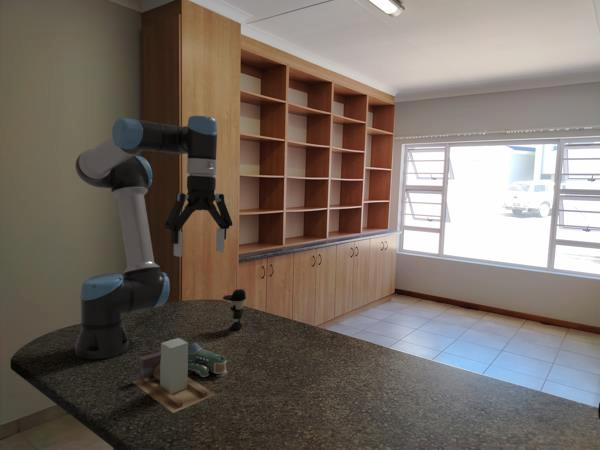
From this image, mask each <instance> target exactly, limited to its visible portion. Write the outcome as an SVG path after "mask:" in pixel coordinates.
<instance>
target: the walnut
mask: <svg viewBox="0 0 600 450" xmlns="http://www.w3.org/2000/svg"><path fill="white" fill-rule="evenodd" d="M153 375H154V378H155V379H156V380H157V381H160V365H158V366H157V367H156V368H155V369H154V372H153Z"/></svg>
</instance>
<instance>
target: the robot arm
mask: <svg viewBox="0 0 600 450" xmlns="http://www.w3.org/2000/svg"><path fill="white" fill-rule="evenodd" d="M217 127H218V123H217V119H215V118H214V117H211V116H205V115H190V116H189V117H188V120H187V125H185V126H182V125H180V126H179V125H172V124H167V123H166V124H165V123H159V122H153V121H152V122H151V121H147V120H141V119H135V118H117V119H116V120H115V122H114V124H113V126H112V130H111V132H112V134H111V135H110V136H109V137H108V138H107V139H105V140H104V141H102V142H101V143H100V144H99V145H97V146H95V147H94V148H89V149H87V150H84V151H83V152H81V153H80V154H79V155H78V157H77V158H76V160H75V165H74V167H75V172H76V173H77V175H78V176H79V178H80V179H81V180H82V181H84V183H86V184H88V185H90V186H92V187H95V188H101V189H102V188H103V189H105V188H107V189H110V190H111V194H112V196H113V197H114V198H116V199H117V205H118V212H119V218H120V225H121V226H120V227H121V233H122V237H123V238H122V240H123V244H124V253H125V258H126V259H125V260H126V268H125V270H124V271H123V275H122V274H120V273H118V272H117V273H104V274H103V273H102V274H98V275H94V276H91V277H89V278H87V279H85V281H83V282H82V284H81V291H80V308H81V309H80V312H81V313H80V314H81V316H80V317H81V318H80V319H81V321H80V322H81V324H80V325H81V328H80V332H79V334H78V337H77V339H76V342H75V346H74V349H75V350H74V353H75V354H74V355H75V356H76V357H78V358H81V359H84V360H102V359H103V360H105V359H108V358H113V357H116V356H119V355H122V354H123V353H125V352H126V351H127V350H128V349H129V338H128V335H127V333H126V329H125V327H124V323H123V319H124V318H123V317H124V315H125V314H130V313H136V312H140V311H141V312H142V311H146V310H152V309H154V308H159V307H162V306H163V305H165V303H166V302H167V300H168V298H169V295H170V290H171V289H170V287H171V286H170V284H171V283H170V279H169V276H168V275H167V273H166V272H163V271H161V267H160V265H159V264H157V263H156V262H155V258H154V251H153V244H152V239H151V233H150V225H149V221H148V213H147V207H146V199H145V195H146V194H147V193H148V192H149V190H148V189H150V187H151V186H152V183H153V180H152V179H153V170H152V168H151V165H150V163H149V162H148V159H146V158H144V157H143V156H139V155H138V154H140V153H141V152H143V151H148V152H157V153H158V152H159V153H160V152H161V153H169V154H173V155H179V156H180V155H184V154H186V155H187V157H186V158H187V161H186V163H187V165H186V173H187V174H188V176H187V177H186V189H187V193H186V194H185V193H184V192H177V193H176V196H175V201H174V203H173V206H172V208H171V210H170V213H169V214H168V217H167V219H166V221H165V223H164V225H163V227H164V229H166V230H169V231H170V232H171V233H170V234H171V236H170V237H171V238H170V239H171V240H170V241H171V244H173V256H175V257H179V258H182V257H183V231H181V229H182V228H183V227H184V225H185V223H187V221H188V220H189V218H190V217H191V216H192V214H194V212H196V211H207V212H208V213H209V214H210V216H211V217H212V219H213V220H214V221H215V223H216V225H217V226H218V227H217V228H216V236H215V237H216V241H215V251H217V252H221V253H224V252H225V240H226V239H227V230H228V229H230V227H232V226H233V224H234V223H233V221H232V218H231V216H230V213H229V210H228V208H227V205H226V201H225V195H224V194H223V193H215V190H216V186H217V185H216V184H217V183H216V181H217V180H216V177H214V176H215V175H216V174H217V148H218V147H217V146H218V145H217V144H218V143H217V141H218V131H217V130H218V128H217ZM186 201H187V204H186V205H185V203H186ZM214 202H215V203H216V205H215V204H214ZM183 207H184V208H183Z"/></svg>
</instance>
